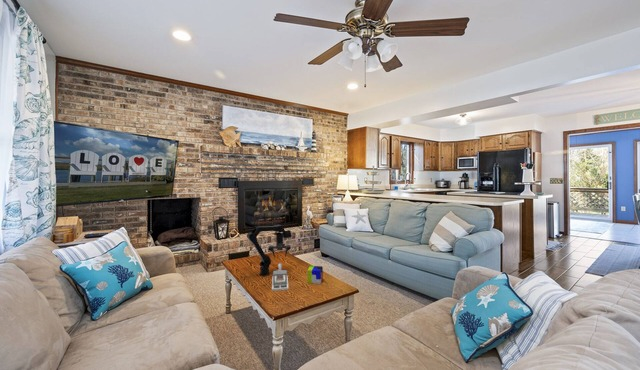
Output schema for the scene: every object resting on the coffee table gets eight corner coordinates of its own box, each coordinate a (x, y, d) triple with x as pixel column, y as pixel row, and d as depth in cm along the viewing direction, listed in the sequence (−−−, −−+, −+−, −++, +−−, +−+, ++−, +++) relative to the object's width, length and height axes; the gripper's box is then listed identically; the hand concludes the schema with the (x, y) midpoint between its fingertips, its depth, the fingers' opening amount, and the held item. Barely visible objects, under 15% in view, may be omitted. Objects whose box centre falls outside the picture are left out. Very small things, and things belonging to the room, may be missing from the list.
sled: (283, 279, 208) (283, 269, 208) (276, 280, 208) (275, 270, 207) (283, 272, 224) (283, 263, 223) (276, 272, 223) (276, 263, 222)
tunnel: (286, 284, 200) (286, 273, 200) (273, 285, 198) (273, 274, 198) (286, 280, 207) (286, 270, 206) (273, 281, 205) (273, 270, 205)
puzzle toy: (320, 283, 205) (320, 271, 204) (307, 282, 207) (307, 270, 206) (322, 278, 214) (322, 266, 214) (310, 277, 216) (310, 265, 216)
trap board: (288, 289, 195) (288, 287, 195) (271, 290, 193) (271, 288, 193) (287, 276, 218) (287, 275, 218) (272, 278, 217) (272, 276, 216)
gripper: (268, 242, 222) (268, 260, 222) (290, 241, 224) (291, 259, 225) (268, 239, 233) (269, 256, 233) (290, 238, 235) (290, 255, 236)
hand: (279, 257), depth 232 cm, fingers open, 9 cm apart
